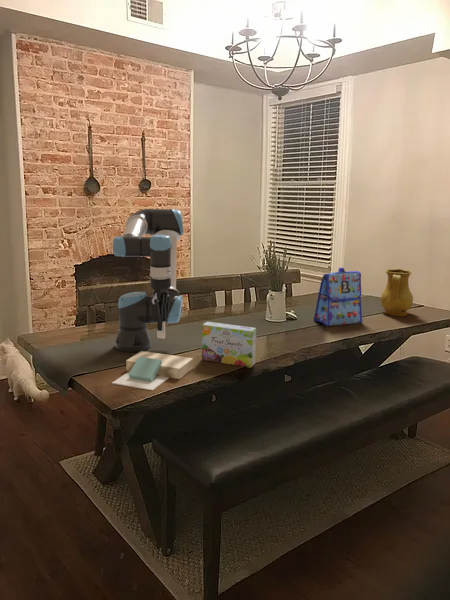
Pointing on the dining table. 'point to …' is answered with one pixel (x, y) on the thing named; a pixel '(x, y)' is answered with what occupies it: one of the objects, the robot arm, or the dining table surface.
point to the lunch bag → (339, 299)
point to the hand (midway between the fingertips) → (161, 337)
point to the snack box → (228, 344)
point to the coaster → (145, 369)
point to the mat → (140, 382)
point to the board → (165, 364)
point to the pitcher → (397, 293)
